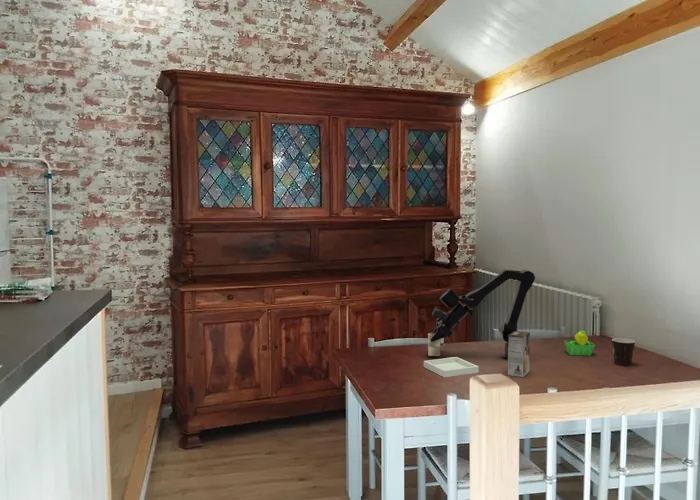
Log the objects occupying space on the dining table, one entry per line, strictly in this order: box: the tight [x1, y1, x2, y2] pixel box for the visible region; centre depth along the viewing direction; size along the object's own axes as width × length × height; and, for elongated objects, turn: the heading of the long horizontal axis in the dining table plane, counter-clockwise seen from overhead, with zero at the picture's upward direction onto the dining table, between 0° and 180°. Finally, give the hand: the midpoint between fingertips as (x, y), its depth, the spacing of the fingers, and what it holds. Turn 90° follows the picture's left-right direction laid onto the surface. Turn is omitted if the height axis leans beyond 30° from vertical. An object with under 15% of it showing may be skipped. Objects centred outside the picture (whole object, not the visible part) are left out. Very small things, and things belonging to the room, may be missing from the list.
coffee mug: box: [611, 337, 636, 367], centre depth 230 cm, size 12×9×10 cm
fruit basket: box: [564, 330, 595, 356], centre depth 247 cm, size 11×9×11 cm
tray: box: [423, 356, 480, 378], centre depth 225 cm, size 16×16×2 cm
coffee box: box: [507, 330, 531, 378], centre depth 218 cm, size 9×6×16 cm
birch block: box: [427, 332, 441, 357], centre depth 244 cm, size 5×5×9 cm
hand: (430, 339), depth 244 cm, fingers closed on birch block, 5 cm apart
